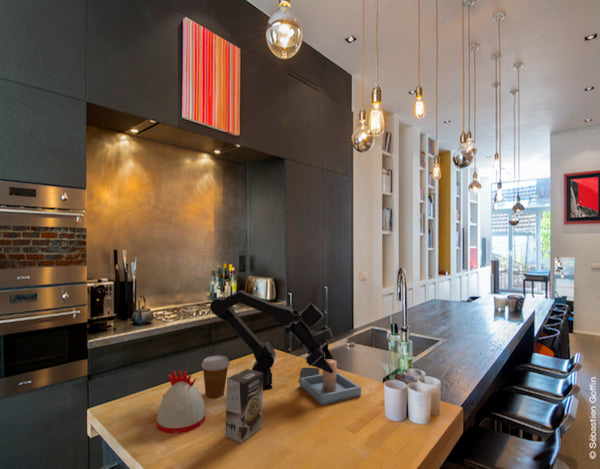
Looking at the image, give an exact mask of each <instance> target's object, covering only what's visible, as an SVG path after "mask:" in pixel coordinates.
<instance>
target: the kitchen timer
mask: <svg viewBox="0 0 600 469" xmlns="http://www.w3.org/2000/svg"><path fill="white" fill-rule="evenodd" d="M167 378H168V379H169V382H170V384H171V386H170V387H169V388H168V389H167V391H165V394H163V395H162V399H161V401H160V402H161V403H160V405H159V408H158V411H157V416H156V428H157V430H158V431H160V432H161V433H164V434H168V435H169V434H170V435H177V434H178V435H180V434H185V433H189V432H191V431H194V430H196V429H197V428H199V427H201V426H202V425H203V424H204V423H205V421H206V415H207V414H206V413H207V412H206V406H205V401H204V398H203V395H202V393H201V391H200V390H199V389H198V387H197V386H196V385H195V383H196V380H197V378H194V379H193V380H192V381H191V378H192V374H191V373H190V374H189V375H187V370H186V369H185V370H184V371H183V374H182V370H181V369H180V370H179V371H178V376H177V372H176V370H173V372H172V375H171V374H168V376H167Z"/></svg>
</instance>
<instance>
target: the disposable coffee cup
mask: <svg viewBox="0 0 600 469" xmlns="http://www.w3.org/2000/svg"><path fill="white" fill-rule="evenodd" d="M229 366H230V361H229V358H228V357H227V356H223V355H213V356H211V355H210V356H208V357H206V358H204V359H203V360H202V363H201V367H202V372H203V373H202V374H203V382H204V390H205V396H206V398H209V399H218V398H221V397H222V396H224V395H225V389H226V385H227V376H228V369H229V368H228V367H229Z"/></svg>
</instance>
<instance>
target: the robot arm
mask: <svg viewBox="0 0 600 469" xmlns="http://www.w3.org/2000/svg"><path fill="white" fill-rule="evenodd" d="M237 304H242V305H245V306H246V307H247V306H248V307H250V308H252V309H254V310H256V311H258V312H259V311H260V312H261V313H264V314H266V315H268V316H269V317H271V318H272V319H273V320H275V321H276V322H277V323H279V324H281V325H282V326H285V327H284V330H285V332H284V334H285V335H288V334H289V333H291V334H292V335H293V336H294V337H295V338H296V339H297V340H298V342H299V345H300V347H302V346H303V348H305V349H306V351H307V357H305V360H306V361H305V362H306V363H307V365H308V366H309V367H313V368H318V369H319V370H322V371H323V370H324V371H327V372H329V373H333V370H332V368H331V366H330V365H329V364H328V362H327V361H326V359H332V360H335V358H334V356H333V354H332V353H331V351H330V348H329V340H331V339H332V338H333V336H334V335H333V332H332V329H331V328H330V327H329V326H327V325H322V326H321V328H320V330H319V331H317V332H316V331H315V330H311V329H310V328H309V327H314V326H315V325H316V324H317V323H319V322H320V320H322V319H323V318H324V317H325V314H324V313H323V312H322V311H321V309H319V307H317V306H316V305H314V304H313V303H312V302H310V303H309V304H308V305H307V307H305V309H303V311H301V310H296V309H293V308H292V307H291V306H287V305H283V304H276V303H271V302H270V301H268V300H264V299H262V298H259V297H258V296H255V295H253V294H251V293H248V292H246V291H245V290H239V291H237V292H235V293H232V294H231V295H227V296H218V297H217V298H215V299H214V300H212V302H211V303H210V311H211V312H212V314H214V315H215V316H216V317H217V318H219V319H221V320H222V321H224V322H226V323H227V324H228V325H229V327H231V329H232V330H233V331H234V333H236V335H238V337H239V338H240V339H241V340H242V341H243V342H244V343H245V344H246V345H247V347H249V349H250V351H252V354H253V357H254V359H255V362H254V364H253V366H252V368H251V370H254V371H258V372H262V373H263V391H264V390H267V389H268V390H269V389H273V385H272V384H273V373H272V369H271V368H272V367H273V365H274V364H275V360H276V358H277V356H276V354H277V353H276V351H275V347H273V346H272V345H271V343H270V341H266V342H265V343H264V342H263V341H262V340H260V339H259V338H258V337H257V336H256V335H255V333H254V332H253V331H252V330H251V329H250V328H249V327H248V325H247V324H246V323H245V321H243V320H242V319H241V317H240V316H239V315H238V314H237V313H236V311H235V308H234V306H235V305H237Z"/></svg>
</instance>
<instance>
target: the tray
mask: <svg viewBox="0 0 600 469" xmlns="http://www.w3.org/2000/svg"><path fill="white" fill-rule="evenodd" d="M299 380H300V383H299V387H300V388H301V389H303V390H304V391H305V392H306V393H307V394H308V395H309V396H310V397H311V398H313V399H314V400H315V401H316V402H318V403H319V404H320V405H321V406H325V405H328V404H333V403H336V402H341V401H345V400H348V399H353V398H357V397H361V396H362V394H361V393H362V387H361V386H359V385H358V384H356V383H355V382H353V381H352V380H350V379H349V378H347V377H346V376H345V375H342V374H341V373H339V372H338V371H337V375H336V391H335V392H325V391H323V373H321V374H320V373H319V375H314V376H309V377H304V378H300V377H299Z"/></svg>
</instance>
